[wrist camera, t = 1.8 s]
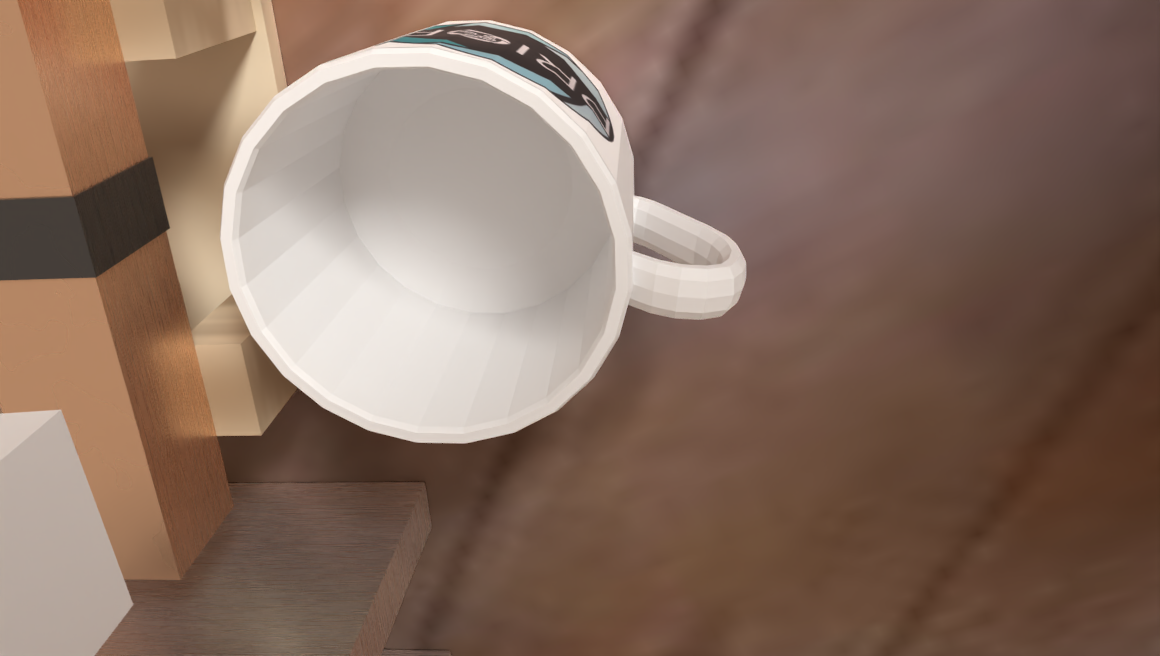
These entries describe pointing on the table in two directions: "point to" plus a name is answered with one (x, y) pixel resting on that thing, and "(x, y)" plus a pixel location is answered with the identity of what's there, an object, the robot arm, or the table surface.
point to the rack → (206, 172)
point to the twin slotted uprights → (288, 576)
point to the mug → (453, 234)
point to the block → (99, 288)
